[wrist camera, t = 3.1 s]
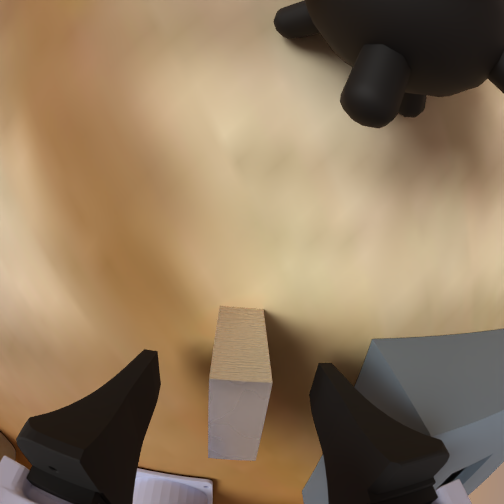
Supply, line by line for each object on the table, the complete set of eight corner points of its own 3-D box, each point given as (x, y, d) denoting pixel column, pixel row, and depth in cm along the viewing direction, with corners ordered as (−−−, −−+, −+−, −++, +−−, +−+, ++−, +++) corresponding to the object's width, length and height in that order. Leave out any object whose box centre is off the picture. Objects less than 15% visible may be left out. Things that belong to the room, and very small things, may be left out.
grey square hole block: (425, 466, 20) (446, 512, 14) (301, 491, 20) (311, 552, 13) (514, 327, 15) (567, 374, 8) (372, 338, 14) (431, 436, 8)
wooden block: (252, 386, 15) (255, 460, 10) (215, 384, 15) (208, 457, 10) (263, 308, 13) (272, 382, 9) (219, 305, 13) (209, 378, 9)
